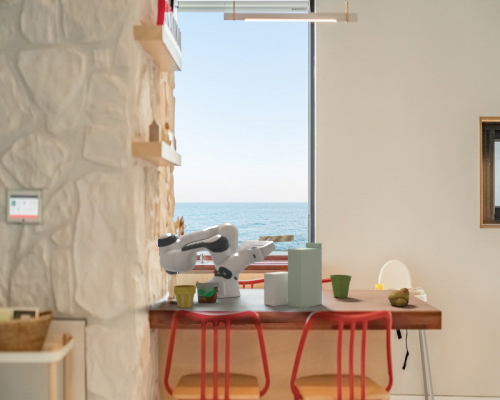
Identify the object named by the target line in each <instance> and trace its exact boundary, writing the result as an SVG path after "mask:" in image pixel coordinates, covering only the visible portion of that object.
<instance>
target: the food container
mask: <svg viewBox="0 0 500 400" xmlns="http://www.w3.org/2000/svg"><path fill="white" fill-rule="evenodd" d="M195 286H196V292H197V302H198V303H200V304H215V303H217V290H218V286H219V283H218V282H216V283H206V282H199V281H196V282H195Z"/></svg>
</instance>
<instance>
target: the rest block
mask: <svg viewBox="0 0 500 400" xmlns="http://www.w3.org/2000/svg"><path fill="white" fill-rule="evenodd" d="M263 275H264V276H263V277H264V278H263V282H264V283H263V288H264V289H263V291H264V292H263V295H264V296H263V304H264V305H265V306H266V305H267V306H271V307H277V306H278V307H279V306H283V305H288V271H275V272H273V271H271V272H264V273H263Z"/></svg>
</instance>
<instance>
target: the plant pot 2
mask: <svg viewBox="0 0 500 400" xmlns="http://www.w3.org/2000/svg"><path fill="white" fill-rule="evenodd" d="M329 277H330V281H331V287H332V295H333V297H334V298H337V299H341V298H342V299H345V298H348V297H349V290H350V283H351V281H352V280H351V279H352V277H353V276H352V275H349V274H330V275H329Z"/></svg>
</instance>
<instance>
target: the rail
mask: <svg viewBox="0 0 500 400" xmlns="http://www.w3.org/2000/svg"><path fill="white" fill-rule="evenodd" d="M268 237H271V239H272V241H273V243H284V242H286V243H287V242H294V241H295V234H283V235H281V234H279V235H259V238H258V239H259V241H266V240H267V238H268Z"/></svg>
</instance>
